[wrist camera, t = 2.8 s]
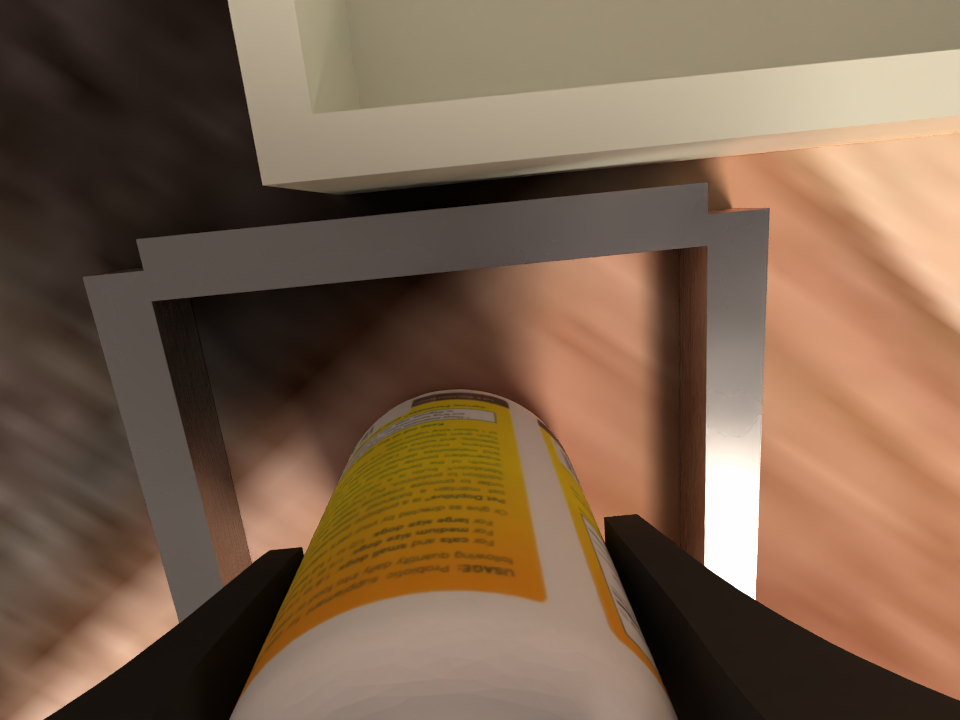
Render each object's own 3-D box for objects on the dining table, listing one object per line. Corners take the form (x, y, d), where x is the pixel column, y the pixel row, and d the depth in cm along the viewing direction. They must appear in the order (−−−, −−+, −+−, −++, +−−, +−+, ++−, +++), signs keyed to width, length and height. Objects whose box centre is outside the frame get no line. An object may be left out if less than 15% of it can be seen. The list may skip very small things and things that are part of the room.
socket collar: (734, 179, 12) (771, 175, 11) (724, 681, 16) (750, 729, 14) (120, 241, 12) (73, 245, 11) (246, 728, 16) (223, 781, 14)
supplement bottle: (304, 510, 14) (-94, 1238, 4) (435, 335, 13) (327, 746, 3) (482, 621, 15) (514, 1429, 5) (618, 466, 14) (998, 1110, 4)
